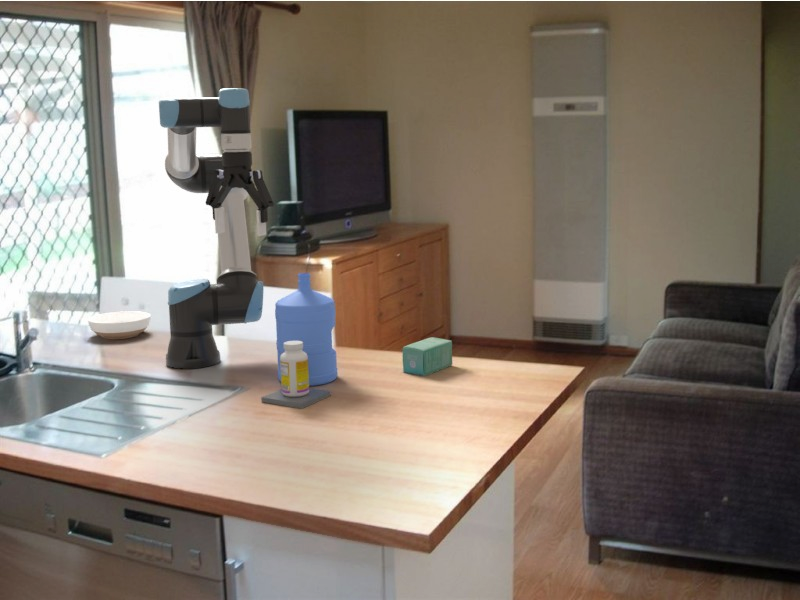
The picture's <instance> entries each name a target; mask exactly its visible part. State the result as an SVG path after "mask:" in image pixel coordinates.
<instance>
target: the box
mask: <svg viewBox="0 0 800 600" xmlns="http://www.w3.org/2000/svg"><path fill="white" fill-rule="evenodd" d="M448 366H449V367H451V366H453V341H452V340H450V339H445V338H438V337H434V336H432V337H428V338H424V339H422V340H419V341H416V342H412V343H410V344H407V345H404V346H403V347H402V371H403V373H406V374H412V375H417V376H422V377H425V376H429V375H431V373H432V374H435V373H436V371H437V372H439V371H441V369H442V370H444V369H446V367H447V368H448ZM438 370H439V371H438Z"/></svg>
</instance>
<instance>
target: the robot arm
mask: <svg viewBox="0 0 800 600" xmlns="http://www.w3.org/2000/svg"><path fill="white" fill-rule="evenodd" d="M250 104H251V99H250V94H249V90H248V89H247V88H241V87H240V88H239V87H237V88H236V87H235V88H232V87H231V88H228V87H227V88H221V89H220V90H219V91H218V97H216V96H215V97H176V96H172V97H167V98H166V97H164V98H160V99H159V101H158V110H159V111H158V113H159V125H160V126H161V127H162V128H163V129H164V128H165V129H167V149H168V150H167V155H166V156H165V159H164V167H165V172H166V174H167V176H168V177H169V179H170V180H171V182H172V183H174V184H175V185H176V186H178V188H180V189H182V190H185V191H186V192H189V193H192V194H207V196H206V200H205V205H206V206H210V207H211V208H212V219H213V221H214V226H215V234H217V238H218V239H217V241H218V251H219V261H220V262H219V264H220V272H221V273H220V274H219V275H218V276H217V277H216V283H215V284H214V283H211V281H210V280H209V279H207V278H201V279H200V278H198V279H190V280H185V281H181V282H178V283H175V284H173V285H171V286H170V288H169V289H168V292H167V294H168V296H167V298H168V301H167V305H168V313H169V329H170V330H169V331H170V332H169V333H170V339H169V343H168V348H167V353H166V354H165V365H166V366H167V367H169V368H172V367H174V368H173V369H180V368H183V370H185V369H187V370H188V369H189V370H190V369H201V368H206V367H210V366H215V365H217V364H218V363H220V362H221V352H220V350H219V349H218V346H217V343H216V340H215V337H214V335H213V326H215V325H234V324H247V323H255V322H258V321H260V320H261V318H262V315H263V306H264V282H263V281H261V280H258V275H257V273H255V272H254V271H252V268H251V267H252V265H251V258H250V257H251V256H250V248H249V239H248V238H249V236H248V228H247V218H246V209H245V200H247V198H248V196H249V197H250V199H252V201H253V202H254V204H255V206H257V209H255V212H256V233H257V237H262V236H266V235H267V223H268V222H269V221H268V220H269V216H268V215H269V214H268V210H269V209H270V208H273V207H274V206H275V203H274V201H273V198H272V197H271V195H270V192H269V190H268V187H267V184H266V182H265V180H264V177H263V171H262V170H261V169H258V170H253V171H252V165H253V153H252V151H250V150H252V149H253V148H252V147H253V145H252V134H251V133H252V132H251V131H252V130H251V110H250V107H251V106H250ZM197 128H220V142H221V144H220V145H221V150H223V151H222V153H203V154H202V153H201V154H200V153H197V151H196V150H197Z"/></svg>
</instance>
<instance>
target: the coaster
mask: <svg viewBox="0 0 800 600" xmlns="http://www.w3.org/2000/svg"><path fill="white" fill-rule="evenodd" d="M331 393H332V392H331V390H328V389H323V388H322V389H321V388H314V387H309V393H308V394H306V395H304V396H300V397H288V396H285V395H283V393H282V388H280V389H278V390H276V391H273V392H270V393H268V394H266V395H263V396H261V403H266V404H273V405H278V406H284V407H291V408H296V409H304V408H306V407H309V406H311V405H313V404H316V403H318V402H319V401H322V400H325V399H327V398H328V397H331Z"/></svg>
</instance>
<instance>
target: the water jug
mask: <svg viewBox="0 0 800 600" xmlns="http://www.w3.org/2000/svg"><path fill="white" fill-rule="evenodd" d="M297 277H298V280H297V283H298V289H296V290H295V291H293V292H292V293H290V294H288V295H286V296H284V297H282V298H280V299H279V300H277V301H276V302H275V305H274V306H275V309H274V317H275V324H276V326H275V329H276V343H275V344H276V350H277V379H278V380H279V382H281V365H280V356H281V354H282V353H284V352H285V349H284V342H287V341H302V342H303V348H302V351H304V352H305V353H306V354H307V356H308V374H309V387H315V386H321V385H326V384H329V383H332V382H333V381H335V380H336V379H337V377H338V367H337V366H338V365H337V364H338V363H337V360H338V359H337V351H336V350H335V349H334V348H333V334H332V332H333V329H334V327H336V306H335V305H336V304H335V300H334V299H333V298H331V297H329V296H327V295H324V294H322V293H320V292H318V291H315V290H314V289H312V288H311V278H310V277H311V273H306V272H304V273H302V272H301V273H298V274H297Z"/></svg>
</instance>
